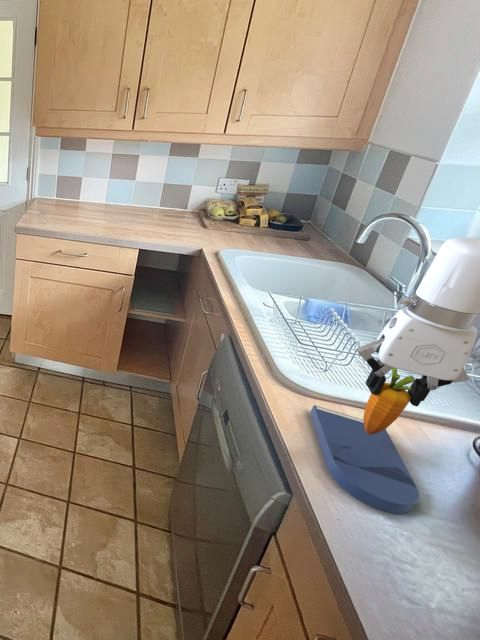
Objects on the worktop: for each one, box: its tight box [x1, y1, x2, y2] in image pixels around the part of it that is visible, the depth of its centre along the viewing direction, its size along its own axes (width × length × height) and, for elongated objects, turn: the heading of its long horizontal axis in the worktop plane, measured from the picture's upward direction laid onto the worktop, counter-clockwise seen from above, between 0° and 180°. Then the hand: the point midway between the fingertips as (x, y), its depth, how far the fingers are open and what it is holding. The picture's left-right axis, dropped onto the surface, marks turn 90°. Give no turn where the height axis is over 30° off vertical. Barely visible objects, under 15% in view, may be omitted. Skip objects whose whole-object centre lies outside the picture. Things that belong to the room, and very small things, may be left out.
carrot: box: [362, 368, 415, 434], centre depth 77 cm, size 5×5×15 cm
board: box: [309, 404, 420, 515], centre depth 80 cm, size 12×22×3 cm, turn 153°
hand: (391, 394), depth 76 cm, fingers closed on carrot, 4 cm apart
